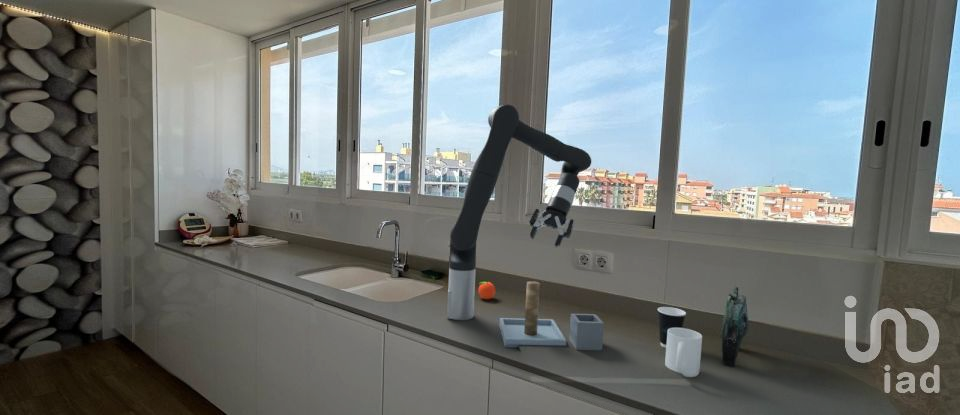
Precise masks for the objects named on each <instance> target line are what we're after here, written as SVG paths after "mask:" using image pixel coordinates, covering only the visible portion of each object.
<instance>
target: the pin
mask: <svg viewBox="0 0 960 415" xmlns="http://www.w3.org/2000/svg"><path fill="white" fill-rule="evenodd" d="M540 285H541V283H540V282H538V281H535V280H533V281H532V280H531V281H526V290H525V291H526V292H525V308H524V309H525V310H524V319H525V328H524V333H525V334H526V335H531V336H533V335H537V326H538V319H539V306H540V304H539V302H540V287H541V286H540Z"/></svg>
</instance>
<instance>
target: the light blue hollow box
mask: <svg viewBox="0 0 960 415" xmlns="http://www.w3.org/2000/svg"><path fill="white" fill-rule="evenodd" d="M569 323H570V324H569V336H568V340H569V341H570V343H571V344H572V346H573V347H574V349H575V350H576V351H603V345H604V344H603V342H604V328H605V323H604V321H603V320H602V319H600V317H599V316H598V314H594V313H570V321H569Z"/></svg>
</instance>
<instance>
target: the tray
mask: <svg viewBox="0 0 960 415" xmlns="http://www.w3.org/2000/svg"><path fill="white" fill-rule="evenodd" d="M498 323H499V325H498V327H499V329H500V334H501V338H502V342H503V345H504V348H513V349H514V348H516V349H520V345H522V346H526V345H527V346H533V345H534V346H559V347H561V346H562V347H563V346H565V347H566V346H567V340H566V338H565V336H564V335H563V333H562V331H561V330H560V329H559V327H558V325H557V323H556V321H555V320H554V319H553V318H552V319H551V318H550V319H549V318H538V326H537V335H533V336H531V335H526V334H525V333H524V328H525V318H514V317H513V318H510V317H499V322H498Z"/></svg>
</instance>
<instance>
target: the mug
mask: <svg viewBox="0 0 960 415" xmlns="http://www.w3.org/2000/svg"><path fill="white" fill-rule="evenodd" d="M702 343H703V335H702V334H701V333H700V332H698V331H695V330H693V329H690V328H684V327H682V328H669V329H668V331H667V344H666V348H665V361H664V365H665V367H667V368H668V369H669V370H672V371H673V372H676V373H679V374H681V375H682V376H684V377H685V378H695V377H697V376H698V375H699V373H700V369H701V368H700V366H701V358H702V345H703V344H702Z"/></svg>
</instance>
